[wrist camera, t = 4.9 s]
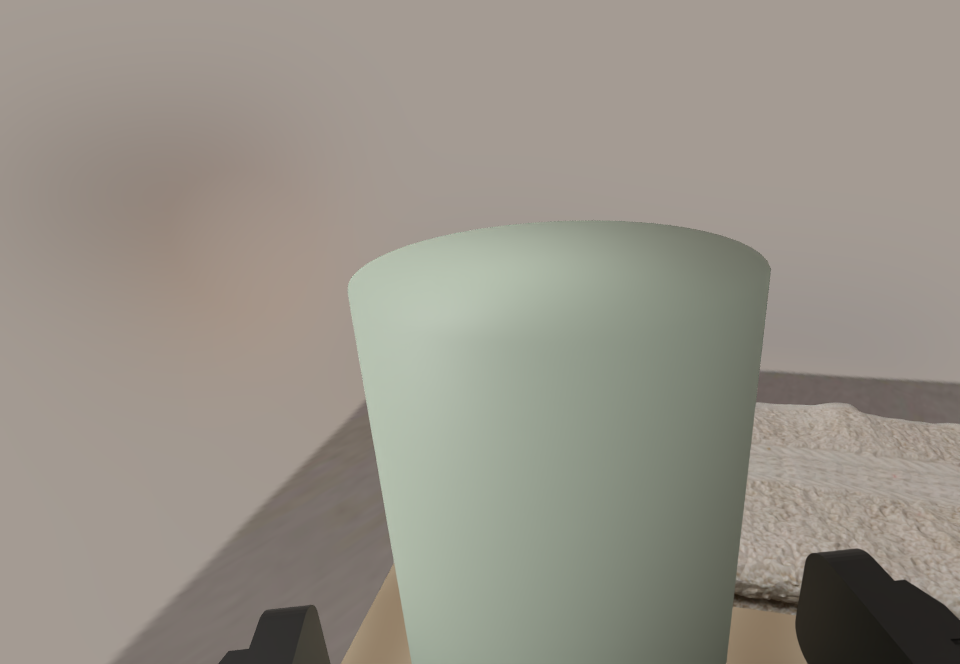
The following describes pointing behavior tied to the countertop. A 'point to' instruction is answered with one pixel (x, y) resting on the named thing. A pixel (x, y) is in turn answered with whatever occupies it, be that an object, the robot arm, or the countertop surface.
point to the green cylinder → (564, 437)
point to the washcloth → (848, 500)
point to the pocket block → (750, 659)
